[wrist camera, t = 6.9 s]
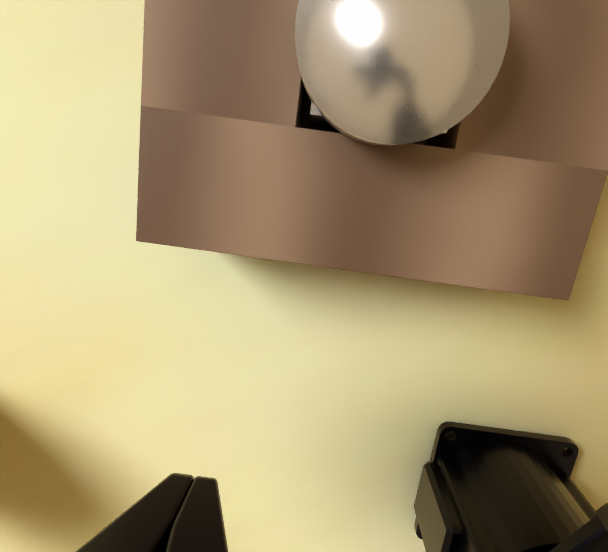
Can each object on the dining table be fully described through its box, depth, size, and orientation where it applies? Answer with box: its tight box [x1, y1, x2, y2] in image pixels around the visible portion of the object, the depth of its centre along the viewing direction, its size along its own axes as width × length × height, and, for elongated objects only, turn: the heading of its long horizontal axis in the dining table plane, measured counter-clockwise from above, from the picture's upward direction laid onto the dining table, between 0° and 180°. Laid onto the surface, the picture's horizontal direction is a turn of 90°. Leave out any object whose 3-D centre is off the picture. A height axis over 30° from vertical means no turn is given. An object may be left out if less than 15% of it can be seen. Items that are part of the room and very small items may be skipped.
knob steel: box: [295, 0, 510, 146], centre depth 13 cm, size 5×5×5 cm
